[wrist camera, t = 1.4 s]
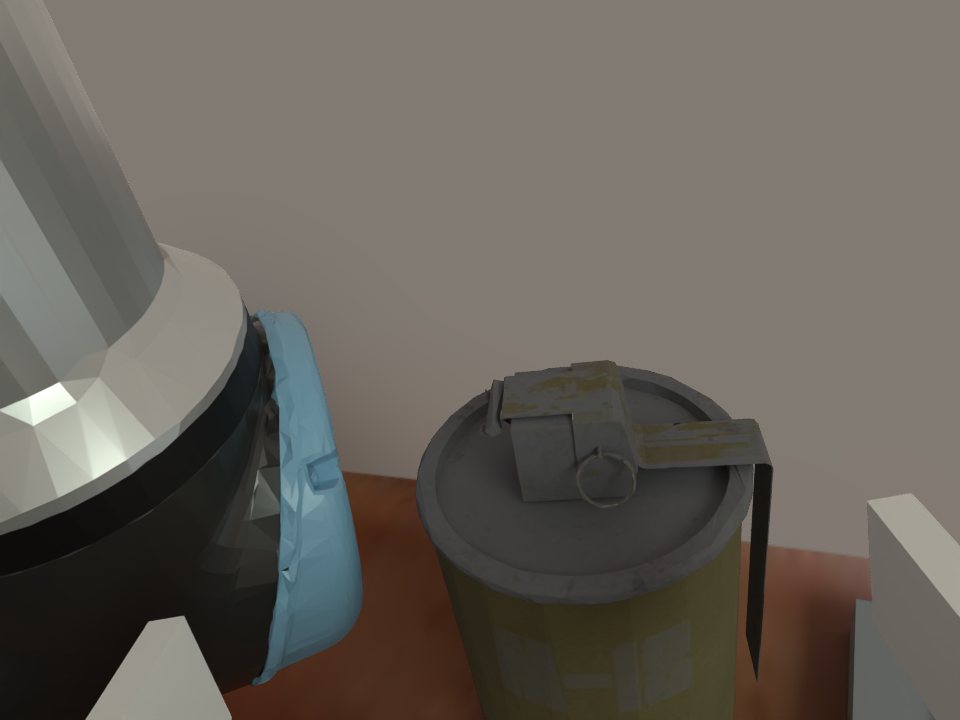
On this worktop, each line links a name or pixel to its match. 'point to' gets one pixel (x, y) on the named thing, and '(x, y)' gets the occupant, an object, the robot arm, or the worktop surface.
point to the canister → (598, 543)
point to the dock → (878, 675)
